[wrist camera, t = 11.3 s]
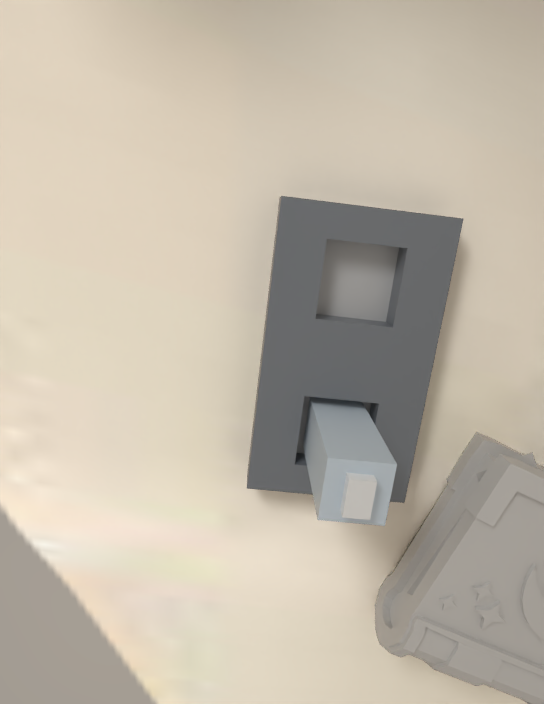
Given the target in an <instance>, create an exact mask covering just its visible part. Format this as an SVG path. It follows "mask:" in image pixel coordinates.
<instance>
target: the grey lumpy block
mask: <svg viewBox="0 0 544 704" xmlns="http://www.w3.org/2000/svg"><path fill="white" fill-rule="evenodd" d="M447 481H448V484H447V486H446V488H445V489H444V491H443V493H442V494H441V496H440V497H439V499H438V501H437V502H436V504H435V505H434V507H433V509H432V510H431V512H430V514H429V515H428V517H427V518H426V520H425V522H424V523H423V525H422V526H421V528H420V530H419V531H418V533H417V535H416V536H415V538H414V539H413V541H412V543H411V544H410V546H409V547H408V549H407V551H406V552H405V554H404V556H403V557H402V559H401V560H400V562H399V564H398V565H397V567H396V568H395V570H394V572H393V573H392V574H391V575H389V576H388V577H387V578H386V579H385V581H384V582H383V584H382V585H381V587H380V589H379V593H378V597H377V600H376V604H375V630H376V634H377V638H378V641H379V643H380V645H381V646H383V647H384V648H385V649H386V650H387V651H388V652H389V653H391V654H393V655H396V656H398V657H403V656H406V655H411V656H413V657H416V658H419V659H421V660H423V661H424V662H425V663H427V664H428V665H429V666H430V667H432V668H433V669H434V670H437V671H439V672H442V673H444V674H447V675H450V676H452V677H455V678H457V679H460V680H462V681H465V682H467V683H470V684H472V685H475V686H479V685H483V684H484V685H487V686H489V687H492V688H494V689H497V690H499V691H502V692H504V693H507V694H509V695H512V696H514V697H517V698H519V699H522V700H523V701H525V702H526V703H528V704H544V467H542V466H540V465H538V464H536V463H535V459H534V456H533V453H529V454H527V455H523V454H521V453H519V452H517V451H515V450H513V449H511V448H510V447H508V446H506V445H504V444H502V443H500V442H498V441H496V440H494V439H492V438H490V437H487V436H485V435H483V434H480V433H478V432H476V434H475V435H474V437H473V438H472V440H471V441H470V442H469V444H468V445H467V447H466V448H465V450H464V451H463V453H462V455H461V456H460V458H459V460H458V461H457V463H456V465H455V466H454V468H453V470H452V471H451V473H450V475H449V476H448V478H447Z"/></svg>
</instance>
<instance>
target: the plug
mask: <svg viewBox="0 0 544 704" xmlns="http://www.w3.org/2000/svg"><path fill="white" fill-rule="evenodd" d="M303 448H304V453H305V458H306V463H307V468H308V473H309V478H310V483H311V488H312V493H313V498H314V503H315V509H316V514H317V519H318V520H325V521H336V522H348V523H359V524H370V525H381V526H385V523H386V518H387V513H388V508H389V503H390V498H391V493H392V488H393V483H394V478H395V473H396V468H397V463H396V461H395V460H394V458H393V456H392V454H391V452H390V451H389V449H388V447H387V445H386V444H385V442H384V440H383V438H382V436H381V435H380V433H379V431H378V429H377V428H376V426H375V424H374V422H373V420H372V419H371V417H370V415H369V413H368V411H367V410H366V408H365V406H364V404H363V403H362V402H357V401H348V400H338V399H328V398H319V397H310V400H309V407H308V414H307V421H306V427H305V434H304V441H303Z"/></svg>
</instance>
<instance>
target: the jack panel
mask: <svg viewBox="0 0 544 704" xmlns="http://www.w3.org/2000/svg"><path fill="white" fill-rule="evenodd" d="M462 223H463V219H461V218H453V217H445V216H437V215H429V214H421V213H413V212H405V211H397V210H389V209H381V208H373V207H365V206H357V205H349V204H341V203H333V202H325V201H317V200H309V199H301V198H293V197H285V196H281V197H280V200H279V208H278V217H277V225H276V234H275V242H274V251H273V259H272V268H271V276H270V285H269V293H268V302H267V310H266V319H265V327H264V336H263V345H262V353H261V362H260V370H259V379H258V387H257V396H256V404H255V413H254V421H253V430H252V438H251V447H250V455H249V464H248V473H247V488H249V489H260V490H271V491H282V492H293V493H303V494H313V493H312V488H311V483H310V478H309V473H308V468H307V463H306V458H305V453H304V448H303V441H304V434H305V427H306V421H307V414H308V407H309V400H310V397H319V398H328V399H338V400H348V401H357V402H362V403H363V404H364V406H365V408H366V410H367V411H368V413H369V415H370V417H371V419H372V420H373V422H374V424H375V426H376V428H377V429H378V431H379V433H380V435H381V436H382V438H383V440H384V442H385V444H386V445H387V447H388V449H389V451H390V452H391V454H392V456H393V458H394V460H395V461H396V463H397V468H396V473H395V478H394V483H393V488H392V493H391V498H390V501H391V502H402V503H404V502H405V497H406V492H407V487H408V483H409V478H410V473H411V468H412V463H413V459H414V454H415V449H416V444H417V439H418V435H419V430H420V425H421V420H422V415H423V411H424V406H425V401H426V396H427V391H428V386H429V382H430V377H431V372H432V367H433V362H434V358H435V353H436V348H437V343H438V338H439V334H440V329H441V324H442V319H443V314H444V310H445V305H446V300H447V295H448V290H449V285H450V281H451V276H452V271H453V266H454V261H455V257H456V252H457V247H458V242H459V237H460V233H461V228H462Z"/></svg>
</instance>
